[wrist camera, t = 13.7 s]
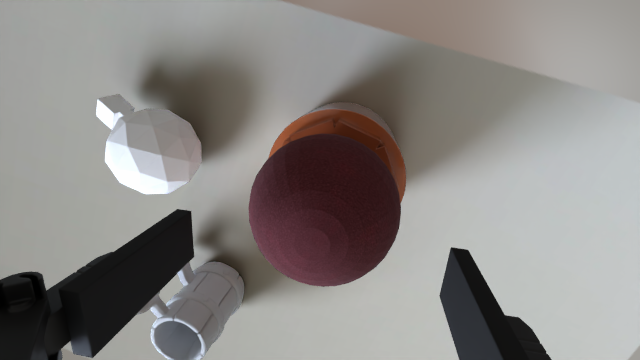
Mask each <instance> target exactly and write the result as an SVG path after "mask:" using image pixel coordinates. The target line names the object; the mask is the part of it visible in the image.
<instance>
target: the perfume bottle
mask: <svg viewBox="0 0 640 360" xmlns="http://www.w3.org/2000/svg"><path fill="white" fill-rule="evenodd" d="M96 116H97V117H98V118H99V119H101V120H102V121H103V122H104V123H105V124H106V125H107V126H108V127H109V128H110V129H111V130H112V129H113V130H112V131H111V133H110V135H109V137H108V139H107V142H106V154H105V162H106V163H107V165H108V166H109V168H110V169H111V170H112V172H113V173H114V175H115V176H116V178H117V179H118V181H119V182H120V183H122V184H124V185H126V186H128V187H131V188H133V189H135V190H137V191H139V192H142V193H144V194H169V193H171V192H172V191H174V190H176V189H178V188H179V187H181V186H183V185H185V184H186V183H188V182H189V181H190V180H191V178H192V177H193V175H194V174H195V172H196V171H197V169H198V168H199V166H200V165H201V163H202V160H201V142H200V141H199V139H198V137H197V135H196V133H195V132H194V130H193V128H192V126H191V124H190V123H189V122H187V121H186V120H184V119H182V118H181V117H179V116H178V115H176V114H174V113H173V112H171V111H169V110H167V109H144V110H141V111H138V112H135V113H134V107H133V106H132V105H131V104H130V103H128V102H127V101H126V100H125V99H124V98H123V97H122V96H121V95H120V94H116V95H112V96H108V97H103V98H99V99H98V101H97V111H96Z"/></svg>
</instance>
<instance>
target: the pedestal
mask: <svg viewBox="0 0 640 360" xmlns="http://www.w3.org/2000/svg"><path fill="white" fill-rule="evenodd" d="M315 134H337V135H341V136H345V137H349V138H352V139H354V140H356V141H358V142H360V143H362V144H364V145H365V146H367V147H368V148H370V149H371V150H372V151H374V152H375V153H376V154H377V155H378V156H379V157H380V159H381V160H382V161H383V162H384V163H385V164H386V166H387V167H388V169H389V171H390V173H391V174H392V176H393V178H394V179H395V182H396V185H397V188H398V191H399V196H400V204H401V201H402V198H403V196H404V191H405V186H406V170H405V164H404V160H403V157H402V154H401V152H400V149H399V147H398V145H397V142H396V140H395V138H394V135H393V133H392V131H391V129H390V128H389V126H388V125H387V124H386V122H385V121H384V120H383V119H382V118H381V117H380V116H379V115H378V114H376V113H375V112H374V111H372V110H370V109H368V108H367V107H364V106H362V105H359V104H355V103H349V102H335V103H329V104H326V105H323V106H321V107H318V108H316V109H314V110H313V111H311V112H309V113H307V114H305V115H304V116H302V117H300V118H298V119H297V120H295V121H294V122H292V123H291V124H290V125H289V126H288V127H286V128H285V129H284V131H283V132H282V133H281V134H280V135H279V137H278V138H277V140H276V141H275V143H274V145H273V147H272V149H271V152H270V155H269V158H270V157H271V156H272V155H273V154H274V153H275V152H276V151H277V150H278V149H280V148H281V147H283V146H284V145H286V144H287V143H289V142H291V141H294V140H297V139H299V138H302V137H305V136H308V135H315ZM269 158H268V159H269Z"/></svg>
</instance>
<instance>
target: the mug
mask: <svg viewBox="0 0 640 360" xmlns="http://www.w3.org/2000/svg"><path fill="white" fill-rule="evenodd" d="M178 276H179V278H180V281H181V283H182V284H183V286H184V287H183V288H182V289H181V291H180V292H179V293H177V294H176V295H174V296H173V297H172V298H171V299H170V301H169V302H168V303H167V304H166V305H165V303H164V302H163V301H162V300H161V299H160V297H159V295H158V294H159V293H160V291H159V292H158V293H157V294H156V295H155V296H154V297H153V298H152V299H151V300H150V301H149V302H148V303H147V304H146V305H145V306H144V307H143V308H142V309H141V310H140V311H139V312H138V313H137V314H141V313H144V312H146V311H147V310H149V309H150V310H151V311H152V312H153V313H154V314H155V315H156V316H157V318H158V319H157V320H156V321H155V322H154V324H153V326H152V328H151V340H152V343H153V345H154V347H155V348H156V349H158V352H160V353H161V354H162V355H163V356H164V357H165V358H167V359H169V360H201V359H202V358H203V357H204V355H205V354H206V352H207V351H208V349H209V348H210V346H211V345H212V344H213V343H214V342H215V341H216V340H217V339H218V338H219V336H220V335H221V333H222V331H223V329H224V325H225V323H226V322H227V320H228V319H229V317H230V316H231V315H232V314H234V313H235V312H236V311H237V310H238V308H239V307H240V305H241V303H242V300H243V294H244V282H243V279H242V278H241V276H239V273H238V272H237V271H236V270H235V269H234V268H232V267H230V266H228V265H226V264H224V263H221V262H209V263H206V264H204V265H202V266H200V267H198V268H197V269H195V270H194V271H192V269H191V267H190V263H189V262H188V263H187V264H186V265H185V266H184V267H183V268H182V269H181V270H180V271H179V272H178ZM137 314H136V315H137Z"/></svg>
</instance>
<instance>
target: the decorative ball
mask: <svg viewBox="0 0 640 360" xmlns="http://www.w3.org/2000/svg"><path fill="white" fill-rule="evenodd" d="M400 215H401V205H400V196H399V191H398V188H397V185H396V182H395V179H394V178H393V176H392V174H391V173H390V171H389V169H388V167H387V166H386V164H385V163H384V162H383V161H382V160H381V159H380V157H379V156H378V155H377V154H376V153H375V152H374V151H372V150H371V149H370V148H368V147H367V146H365V145H364V144H362V143H360V142H358V141H356V140H354V139H352V138H349V137H345V136H341V135H337V134H315V135H308V136H305V137H302V138H299V139H297V140H294V141H291V142H289V143H287V144H286V145H284V146H283V147H281V148H280V149H278V150H277V151H276V152H275V153H274V154H273V155H272V156H271V157H270V158H269V159H268V160H267V161H266V162H265V164H264V165H263V167H262V168H261V170H260V171H259V173H258V174H257V176H256V178H255V181H254V184H253V186H252V189H251V195H250V202H249V222H250V225H251V229H252V233H253V236H254V239H255V241H256V243H257V245H258V247H259V249H260V251H261V252H262V254H263V255H264V257H265V258H266V259H267V260H268V261H269V262H270V263H271V264H272V265H273V266H274V267H275V268H276V269H277V270H279V271H280V272H281V273H283V274H284V275H286V276H287V277H290V278H292V279H294V280H296V281H298V282H302V283H305V284H309V285H314V286H337V285H342V284H346V283H349V282H351V281H354V280H356V279H358V278H360V277H362V276H364V275H365V274H367V273H368V272H369V271H371V270H372V269H374V268H375V267H376V266H377V265H378V264H379V263H380V262H381V261H382V260H383V259H384V258H385V256H386V254H387V253H388V251H389V249H390V248H391V246H392V244H393V243H394V241H395V238H396V235H397V232H398V229H399V224H400Z"/></svg>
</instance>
